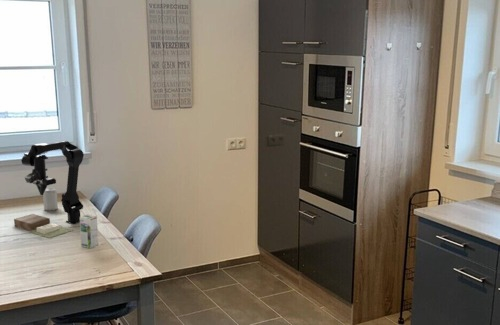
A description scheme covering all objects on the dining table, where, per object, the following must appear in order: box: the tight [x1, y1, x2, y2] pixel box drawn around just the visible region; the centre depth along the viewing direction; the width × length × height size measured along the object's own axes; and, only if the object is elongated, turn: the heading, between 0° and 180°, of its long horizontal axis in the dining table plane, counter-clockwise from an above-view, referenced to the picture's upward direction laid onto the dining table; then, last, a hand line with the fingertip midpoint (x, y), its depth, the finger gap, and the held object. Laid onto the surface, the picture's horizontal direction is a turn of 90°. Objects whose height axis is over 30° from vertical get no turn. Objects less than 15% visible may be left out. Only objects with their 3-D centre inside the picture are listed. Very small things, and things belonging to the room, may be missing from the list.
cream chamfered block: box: [36, 222, 60, 234], centre depth 270 cm, size 6×9×2 cm, turn 147°
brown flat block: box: [13, 213, 51, 232], centre depth 278 cm, size 14×11×4 cm
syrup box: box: [79, 214, 99, 249], centre depth 249 cm, size 6×6×14 cm
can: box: [42, 187, 59, 212], centre depth 307 cm, size 8×8×12 cm
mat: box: [28, 225, 74, 239], centre depth 270 cm, size 16×14×1 cm
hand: (41, 195), depth 292 cm, fingers closed
